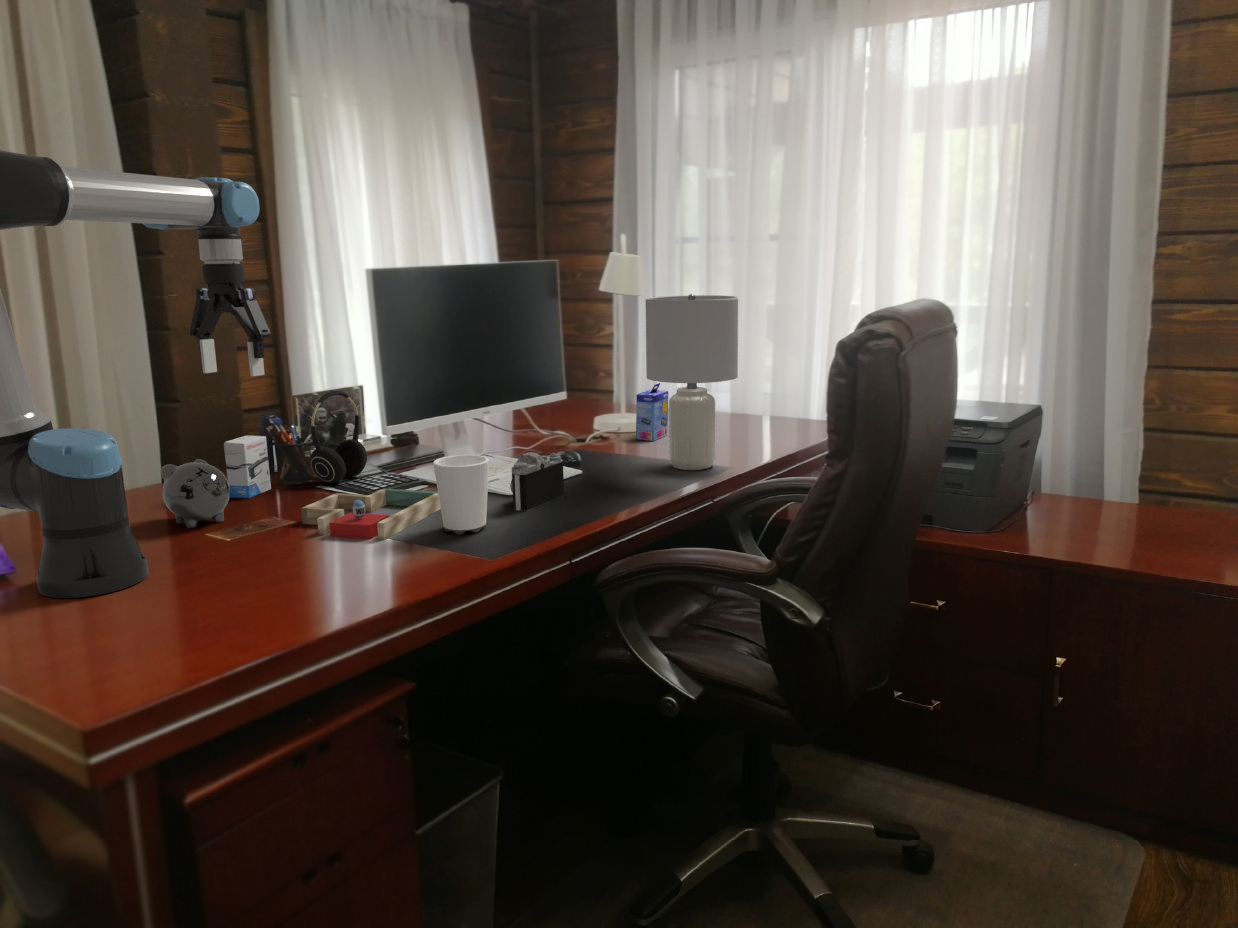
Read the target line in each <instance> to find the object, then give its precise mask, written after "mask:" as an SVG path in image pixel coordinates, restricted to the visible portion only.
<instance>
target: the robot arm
mask: <svg viewBox="0 0 1238 928" xmlns="http://www.w3.org/2000/svg"><path fill="white" fill-rule="evenodd" d="M260 210H261V209H260V200H259V196H258V195H257V192H256V191H255V190H254V188H253V187H252V186H251V185H250V184H249V183H248V184H247V183H246V182H243V181H233V180H232V179H230V178H225V177H211V176H210V177H206V176H205V177H196V178H194V179H192V178H183V177H182V178H181V177H171V176H162V175H153V174H152V175H151V174H141V173H132V172H122V171H121V172H120V171H111V170H103V169H102V170H101V169H90V168H80V167H72V166H71V167H70V166H62V165H61V164H60V163H59V162H58V161H57V160H55V159H53V158H51V157H46V156H36V155H32V154H26V153H25V154H23V153H19V152H12V151H5V150H1V149H0V231H4V230H10V229H16V228H17V229H18V228H26V227H29V228H30V227H57V226H59V225H62V223H63V222H64V221H84V222H103V223H104V222H105V223H126V224H127V223H128V224H131V223H132V224H142V225H143V226H145V227H146V228H148V229H159V230H160V231H164V230H193V231H194V230H195V231H197V239H198V250H199V251H198V252H199V260H200V261H201V262H203V263H204V264H202V265H201V266H200V267H201V268H200V269H201V275H202V276H201V278H202V282H203V284H205V285H207V287H205V288H204V287H203V288H201V287H199V288H197V289H196V290H195V294H196V295H195V296H196V297H195V299H196V300H195V305H194V310H193V315H192V318H191V324H190V329H189V335H190V336H191V337H193V336H194V337H195V338H196V339H197V340H198V348H199V355H200V357H201V365H202V366H201V367H202V373H203V374H211V373H218V366H217V365H218V364H217V358H216V347H215V339H214V336H213V335H212V334H213V333H214V330H215V329H216V326H217V323H218V321H219V319H220V317H221V315H222V314H224V313H229V314H231V315H233V316H234V317H235V319H236V320H237V322H238V323H239V324H240V326H241V328H242V329H243V331H244V332H245V334H246V335H247V336H248V340H247V341H246V342H247V353H248V354H247V355H248V365H249V376H250V377H259V376H265V374H266V373H265V365H264V358H265V349H264V340H266V339H268V338H271V337H272V333H271V330H270V328H269V325H268V324H267V321H266V318H265V317H264V314H263V312H262V309H261V307H260V305H259V303H258V301H257V295H256V291H255V288H252V287H250V288H249V287H248V288H243V287H242V284H244V283H245V282H246V276H245V275H246V274H245V266H244V265H243V263H241V261H243V259H244V256H243V255H244V254H243V246H242V245H243V244H242V235H241V227H247V226H250V225H252V224H253V223H255V222H256V221H257V219H258V217H259V214H260ZM13 330H14V329H13V327H12V323H11V320H10V316H9V313H8V309H7V306H6V303H5V298H4V295H3V292H2V289H1V288H0V508H3V509H10V510H16V509H18V510H23V511H28V512H29V511H31V512H37V513H39V519H40V524H41V531H42V537H43V544H42V549H41V555H40V559H39V560H40V561H39V569H38V571H37V572H36V576H35V577H36V578H35V579H36V584H37V585H36V586H37V591H38V593H39V594H40V595H41V596H43V597H48V598H53V599H54V598H55V599H76V598H86V597H95V596H98V595H105V594H109V593H113V592H116V591H120V590H123V589H126V588H129V587H131V586H134V585H137V584H139V583H140V582H142V581H143V580H145V579H146V578H147V577H148V576H149V573H150V572H149V565H148V560H147V557H146V556H145V554H143V552H142V550H141V547H140V544H139V543H138V541H137V538H136V537H135V535H134V533H133V531H132V529H131V525H130V519H129V511H128V504H127V498H126V497H127V496H126V489H125V482H124V481H125V480H124V474H123V459H122V455H121V453H120V449H119V445H118V442H117V440H116V438H115V437H113V435H111V434H110V433H107V432H105V431H103V430H98V429H91V428H74V427H73V428H72V427H70V428H69V427H67V428H57V429H54V427H53V422H52V419H51V417H50V416H49V415H48V414H46V413H44V412H42V411H41V410H38V409H37V407H36V405H35V401H34V398H33V394H32V391H31V387H30V383H29V381H28V376H27V373H26V371H25V367H24V363H23V359H22V357H21V353H20V350H19V347H18V344H17V340H16V337H15V334H14V331H13Z"/></svg>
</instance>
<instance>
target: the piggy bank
mask: <svg viewBox="0 0 1238 928" xmlns="http://www.w3.org/2000/svg"><path fill="white" fill-rule="evenodd" d="M160 476H161V477H162V479H163V481H164V482H163V486H162V499H163V502H164V505H166V507H167V509H168V510H169V511H170V512H171V513H173V514H174V515H175V521H176V523H177V524H179V525H183V524H185V525H184V526H185V527H186V528H187V529H189V530H190V529H195V528H196V527H197V526H198V523H199V521H206V520H210V519H212V521H214V523H221V522H224V520H225V516H224V515H225V514H224V510H225V508H226V507H227V505H228V503H229V501H230V486H229V482H228V479H227V475H225V473H223V472H222V470H220V469H219V468H218V467H216V466H213V465H211V464H209V463H208V462H207V461H206V460H203V459H202V458H201V459H200V458H197V459H195V460H194V461H193V462H186V463H184V464H180V465H179V466H178V465H174V464H171V463H169V464H165V465H163V466H162V467H161V469H160Z"/></svg>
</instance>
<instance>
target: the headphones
mask: <svg viewBox="0 0 1238 928" xmlns="http://www.w3.org/2000/svg"><path fill="white" fill-rule="evenodd" d="M334 396H341V397H344V398H345V399H347V400H348V401H349V402H350V403H351V405H352V408H353V410H354V413H355V414H354V425H353V426H354V429H353V432H352V433H353V434H352V438H350V439H345V440H343V441H341V442H340V443H339V444H337V446H336V447H335V449H333V448H330V447H327V446H321V443H320V441H319V438H318V434H317V430H316V425H315V418H316V414H317V411H318V410H319V409H318V408H319V407H320V405H321V404H323V402H324V401H326V400H327V399H329V398H330V397H334ZM310 430H311V436H312V437H311V438H312V441H313V445H314V447H315V449H314V450H312V452H311V454H310V456H309V462H310V467H311V468H310V469H311V470H312V472H313V474H314V475H315V476H316V477H317V478H319V480H321V481H323V482H326V483H329V484H336V483H339V482H341V481H342V480H343V479H344V478H354V477H357V476H358V475H360V474H361V473H362V472H363V471H364V469H365V467H366V465H367V460H368V455H367V450H366V447H365V446H364V445H363V443H362V442H360V441H359V434H360V415H359V411H358V407H357V405H356V404H355V402H354V401H353V400H352V398H351V397H350V395H348V393H346V392H344V391H341V390H330V391H328V392H325V393H324V394H323V395H322V396H321V397H319V399H318V400H317V404H316V405H315V407H314V409H313V411H312V415H311V422H310Z"/></svg>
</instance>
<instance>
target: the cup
mask: <svg viewBox="0 0 1238 928" xmlns="http://www.w3.org/2000/svg"><path fill="white" fill-rule="evenodd" d="M489 465H490V460H489V458H488V457H486V456H484V455H477V454H455V455H448V456H443V457H440V458H437V459H435V460H434V461H433V470H434V476H435V482H436V488H437V492H438V495H439V501H440V508H441V509H440V514H441V518H442V524H443V529H444V531H445V532H446V533H447V532H449V533H450V532H453V533H455V534H456V535H463V534H465V532H467V531H470V532H471V533H479V532H480V531H481V530H482V529H483V528H484V527H486V524H487V511H488V491H489V490H488V489H489V468H490V467H489Z"/></svg>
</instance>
